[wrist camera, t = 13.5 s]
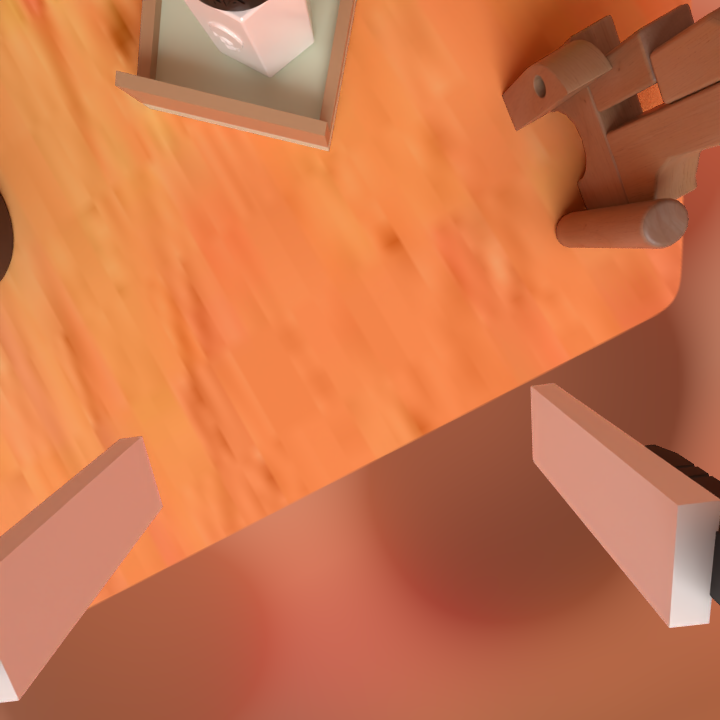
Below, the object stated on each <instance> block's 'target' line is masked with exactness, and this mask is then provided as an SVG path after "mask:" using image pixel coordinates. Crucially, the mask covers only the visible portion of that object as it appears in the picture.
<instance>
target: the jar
mask: <svg viewBox="0 0 720 720" xmlns="http://www.w3.org/2000/svg"><path fill="white" fill-rule="evenodd" d="M184 2H185V3H186V5H187V6H188V7H189V9H190V10H191V12H192V13H193V14H194V16H195V17H196V19H197V20H198V22H199V23H200V24H201V26H202V27H203V29H204V30H205V31H206V33H207V34H208V36H209V37H210V38H211V40H212V41H213V43H214V44H215V46H216V47H217V48H218V50H219V51H220V52H221V53H223V54H225V55H227V56H229V57H231V58H233V59H235V60H237V61H239V62H241V63H243V64H244V65H246V66H248V67H250V68H252V69H254V70H256V71H258V72H260V73H262V74H263V75H265V76H267V77H269V78H271V77H273V76H274V75H275V74H276V73H278V72H279V71H280V70H281V69H282V68H284V67H285V66H286V65H287V64H289V63H290V62H291V61H292V60H293V59H295V58H296V57H297V56H298V55H300V54H301V53H302V52H303V51H304V50H306V49H307V48H308V47H309V46H310V45H312V44H313V43H314V31H313V21H312V11H311V0H184Z"/></svg>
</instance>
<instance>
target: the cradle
mask: <svg viewBox="0 0 720 720" xmlns="http://www.w3.org/2000/svg"><path fill="white" fill-rule="evenodd" d="M356 1H357V0H311V11H312V21H313V31H314V43H313V44H312V45H310V46H309V47H308V48H307V49H306V50H304V51H303V52H302V53H301V54H300V55H298V56H297V57H296V58H295V59H293V60H292V61H291V62H290V63H289V64H287V65H286V66H285V67H284V68H282V69H281V70H280V71H279V72H278V73H276V74H275V75H274V76H273V77H271V78H269V77H267V76H265V75H263V74H262V73H260V72H258V71H256V70H254V69H252V68H250V67H248V66H246V65H244V64H243V63H241V62H239V61H237V60H235V59H233V58H231V57H229V56H227V55H225V54H223V53H221V52H220V51H219V50H218V48H217V47H216V46H215V44H214V43H213V41H212V40H211V38H210V37H209V36H208V34H207V33H206V31H205V30H204V29H203V27H202V26H201V24H200V23H199V22H198V20H197V19H196V17H195V16H194V14H193V13H192V12H191V10H190V9H189V7H188V6H187V5H186V3H185V2H184V0H142V14H141V28H140V42H139V56H138V70H137V76H136V75H132V74H128V73H124V72H120V71H116V82H115V86H117V87H118V88H120V89H121V90H123V91H124V92H126V93H127V94H129V95H130V96H132V97H133V98H135V99H136V100H138V101H139V102H141V103H143V104H144V105H146V106H147V107H149V108H150V109H155V110H159V111H163V112H167V113H171V114H176V115H180V116H184V117H188V118H192V119H196V120H201V121H205V122H209V123H213V124H217V125H221V126H226V127H230V128H234V129H238V130H242V131H247V132H251V133H255V134H259V135H263V136H267V137H272V138H276V139H280V140H284V141H288V142H293V143H297V144H301V145H305V146H309V147H313V148H318V149H322V150H326V151H329V149H330V144H331V138H332V133H333V127H334V122H335V116H336V111H337V105H338V100H339V94H340V89H341V83H342V78H343V72H344V67H345V61H346V56H347V50H348V45H349V39H350V34H351V28H352V23H353V18H354V12H355V7H356Z"/></svg>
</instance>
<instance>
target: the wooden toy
mask: <svg viewBox="0 0 720 720" xmlns="http://www.w3.org/2000/svg"><path fill="white" fill-rule="evenodd" d="M656 83H658V86H659V89H660V93H661V96H662V99H663V102H664V103H663V104H660V105H658V106H656V107H654V108H652V109H650V110H648V111H645V112H643V111H642V108H641V105H640V102H639V99H638V96H637V93H639V92H641V91H643V90H645V89H646V88H648V87H650V86H652V85H654V84H656ZM502 97H503V99H504V102H505V104H506V107H507V109H508V112H509V114H510V117H511V119H512V122H513V124H514V127H515V129H516V131H517V130H519V129H521V128H523V127H524V126H526V125H528V124H530V123H532V122H533V121H535V120H537V119H538V118H540V117H542V116H544V115H545V114H547V113H549V112H555V111H559V112H561V113H563V114H565V115H567V117H568V118H569V119H570V120H571V121H572V122H573V123H574V124H575V126H576V128H577V130H578V132H579V134H580V136H581V138H582V141H583V145H584V149H585V153H586V170H585V173H584V176H583V178H582V179H580V180H579V181H578V187H579V189H580V192H581V195H582V197H583V200H584V203H585V205H586V208H587V210H583V211H577V212H571V213H569V214H566V215H565V216H564V217H562V219H561V220H560V221H559V223H558V225H557V228H556V236H557V239H558V241H559V242H560V243H561V244H562V245H563V246H566V247H569V248H652V249H657V248H665V247H668V246H671V245H672V244H674V243H675V242H676V241H678V240H679V239H680V238H681V237H682V236H683V234H684V233H685V231H686V229H687V227H688V220H689V218H688V212H687V210H686V208H685V206H684V205H683V204H681V203H680V202H679V201H677V200H676V199H678V198H680V197H681V196H683V195H685V194H687V193H689V192H691V191H693V190H694V189H696V187H697V183H696V172H697V167H698V161H699V156H700V152H701V151H702V150H704V149H708V148H712V147H716V146H719V145H720V8H718V9H716V10H714V11H713V12H711V13H709V14H708V15H706V16H705V17H703V18H702V19H700V20H698V21H697V22H696V23H694V21H693V17H692V14H691V10H690V7H689V5H688V4H684V5H680V6H678V7H677V8H675V9H673V10H672V11H670V12H668V13H666V14H665V15H663V16H661V17H659V18H658V19H656V20H654V21H653V22H651V23H649V24H647V25H646V26H644V27H642V28H641V29H639V30H638V31H636V32H635V33H634V34H632V35H631V36H630V37H628V38H627V39H626V40H625V41H623V42H622V43H621V44H620V41H619V38H618V35H617V32H616V29H615V25H614V22H613V19H612V17H611V15H609V16H606V17H604V18H602V19H600V20H599V21H597V22H595V23H594V24H592V25H590V26H589V27H587V28H585V29H584V30H582V31H580V32H578V33H577V34H575V35H573V36H572V37H570V38H569V39H568V40H567V41H566V42H565V43H564V44H563V45H562V46H561V47H560V48H559V49H558V50H556V51H554V52H553V53H551V54H549V55H548V56H546V57H544V58H543V59H541V60H539V61H538V62H536V63H534V64H533V65H531V66H530V67H528V68H527V69H526V70H525V71H524V72H523V73H522V74H521V75H520V76H519V78H518V79H517V80H516V81H515V82H514V83H513V84H512V85H511V86H510V87H509V88H508V89H507V90H506V91H505V92H504V94H503V95H502Z"/></svg>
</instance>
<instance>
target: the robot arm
mask: <svg viewBox="0 0 720 720" xmlns="http://www.w3.org/2000/svg"><path fill="white" fill-rule="evenodd" d="M12 249H13V233H12V226H11V221H10V217H9V214H8V211H7V208H6V205H5V203H4V201H3V199H2V197H1V195H0V281H1V280H2V278H3V277H4V275H5V273H6V271H7V269H8V266H9V263H10V260H11V256H12ZM531 412H532V444H533V445H532V446H533V461H534V463H535V464H536V465H537V466H538V468H539V469H540V470H541V471H542V472H543V474H544V475H545V476H546V477H547V478H548V480H549V481H550V482H551V483H552V485H553V486H554V487H555V488H556V490H557V491H558V492H559V493H560V494H561V496H562V497H563V498H564V499H565V500H566V502H567V503H568V504H569V505H570V507H571V508H572V509H573V510H574V512H575V513H576V514H577V515H578V516H579V518H580V519H581V520H582V521H583V523H584V524H585V525H586V526H587V528H589V530H590V531H591V532H592V534H593V535H594V536H595V537H596V539H597V540H598V541H599V542H600V543H601V545H602V546H603V547H604V548H605V550H606V551H607V552H608V553H609V554H610V556H611V557H612V558H613V559H614V561H615V562H616V563H617V564H618V566H619V567H620V568H621V569H622V570H623V571H624V573H625V574H626V575H627V576H628V578H629V579H630V580H631V581H632V583H633V584H634V585H635V586H636V588H637V589H638V590H639V591H640V592H641V594H642V595H643V596H644V597H645V599H646V600H647V601H648V602H649V603H650V605H651V606H652V607H653V608H654V610H655V611H656V612H657V613H658V614H659V616H660V617H661V618H662V619H663V620H664V622H665V623H666V624H667V625H668V627H669V628H671V627H680V626H689V625H698V624H707V623H709V618H710V608H711V599H712V598H713V599H714V600H715V601H716V602H717V603H718V604H719V605H720V481H719V480H717V479H716V478H714V477H713V476H709V474H708V473H706V472H705V471H704V470H702V469H700V468H699V467H695V466H694V464H693V463H691V462H690V461H688V460H687V459H685V458H684V457H682V456H680V455H679V454H677V453H675V452H672V451H670V450H667V449H664V448H662V447H659V446H656V445H646V446H643V445H642V444H640V443H639V442H638V441H636V440H635V439H633V438H632V437H630V436H629V435H628V434H626V433H625V432H623V431H622V430H620V429H619V428H618V427H616V426H614V425H613V424H612V423H610V422H609V421H607V420H606V419H604V418H603V417H602V416H600V415H599V414H598V413H596V412H595V411H593V410H592V409H590V408H589V407H587V406H586V405H585V404H583V403H582V402H580V401H579V400H577V399H576V398H575V397H573V396H572V395H570V394H569V393H567V392H566V391H565V390H563V389H562V388H560V387H559V386H557V385H556V384H555V383H551V384H543V385H535V386H531ZM162 507H163V505H162V502H161V499H160V495H159V492H158V488H157V485H156V482H155V478H154V475H153V471H152V468H151V465H150V461H149V458H148V454H147V451H146V448H145V444H144V441H143V437H142V436H139V437H131V438H124V439H119V440H118V441H117V442H116V443H114V444H113V445H112V446H111V447H110V448H108V449H107V450H106V451H105V452H103V453H102V454H101V455H100V456H99V457H97V458H96V459H95V460H94V461H92V462H91V463H90V464H89V465H88V466H86V467H85V468H84V469H83V470H81V471H80V472H79V473H78V474H77V475H75V476H74V477H73V478H72V479H70V480H69V481H68V482H67V483H66V484H64V485H63V486H62V487H61V488H59V489H58V490H57V491H56V492H55V493H53V494H52V495H51V496H50V497H48V498H47V499H46V500H45V501H44V502H42V503H41V504H40V505H39V506H37V507H36V508H35V509H34V510H33V511H31V512H30V513H29V514H28V515H26V516H25V517H24V518H23V519H22V520H20V521H19V522H18V523H17V524H15V525H14V526H13V527H12V528H11V529H9V530H8V531H7V532H6V533H4V534H3V535H2V536H1V537H0V702H9V701H18V700H19V699H20V698H21V697H22V696H23V694H24V693H25V692H26V690H27V689H28V688H29V686H30V685H31V683H32V682H33V681H34V680H35V678H36V677H37V675H38V674H39V673H40V671H41V670H42V669H43V667H44V666H45V665H46V663H47V662H48V661H49V659H50V658H51V657H52V655H53V654H54V653H55V651H56V650H57V649H58V647H59V646H60V644H61V643H62V642H63V640H64V639H65V638H66V636H67V635H68V634H69V632H70V631H71V630H72V628H73V627H74V626H75V624H76V623H77V622H78V620H79V619H80V618H81V616H82V615H83V613H84V612H85V611H86V610H87V608H88V607H89V605H90V604H91V603H92V601H93V600H94V599H95V597H96V596H97V595H98V593H99V592H100V591H101V589H102V588H103V587H104V585H105V584H106V583H107V581H108V580H109V579H110V577H111V576H112V574H113V573H114V572H115V570H116V569H117V568H118V566H119V565H120V564H121V562H122V561H123V560H124V558H125V557H126V556H127V554H128V553H129V552H130V550H131V549H132V548H133V546H134V545H135V543H136V542H137V541H138V539H139V538H140V537H141V535H142V534H143V533H144V531H145V530H146V529H147V527H148V526H149V525H150V523H151V522H152V521H153V519H154V518H155V517H156V515H157V514H158V513H159V511H160V510H161V508H162Z"/></svg>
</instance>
